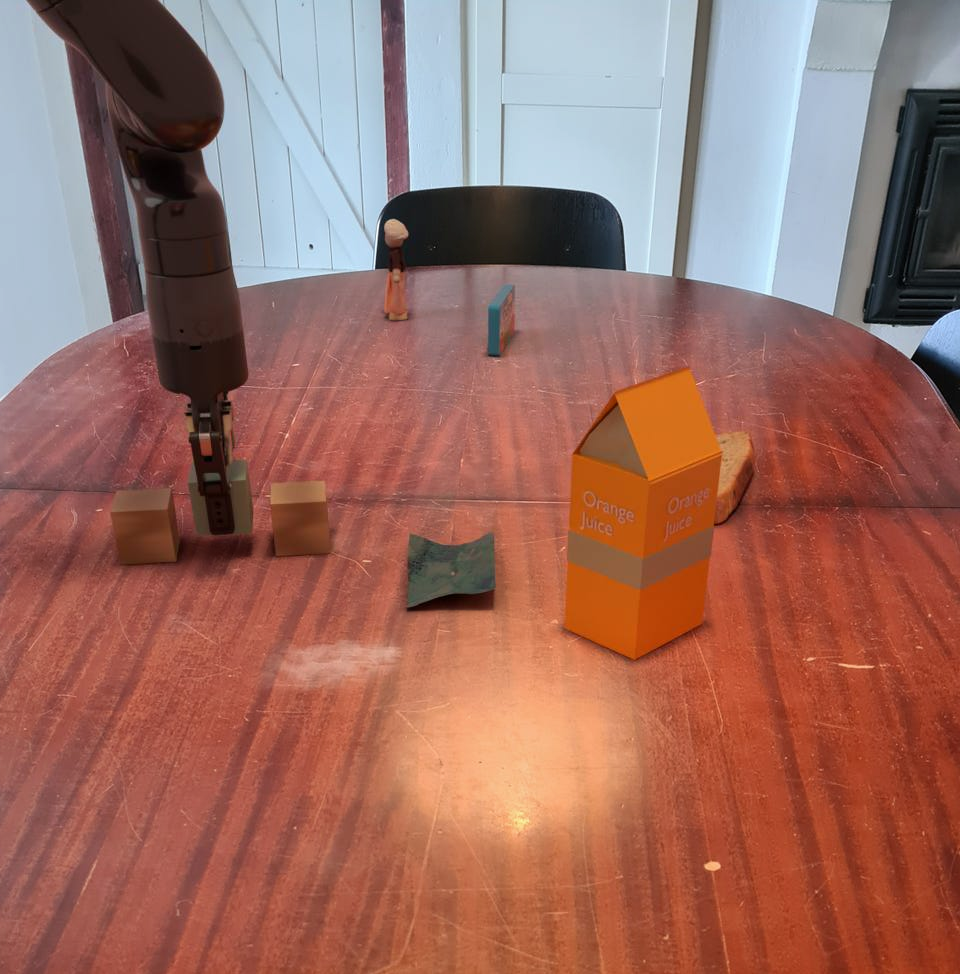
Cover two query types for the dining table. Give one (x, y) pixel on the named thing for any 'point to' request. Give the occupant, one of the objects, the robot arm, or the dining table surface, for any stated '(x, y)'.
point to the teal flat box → (501, 319)
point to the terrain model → (449, 568)
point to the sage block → (238, 497)
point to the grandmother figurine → (395, 271)
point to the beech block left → (145, 526)
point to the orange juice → (642, 517)
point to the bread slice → (733, 471)
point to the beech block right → (300, 518)
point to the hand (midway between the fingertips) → (224, 519)
